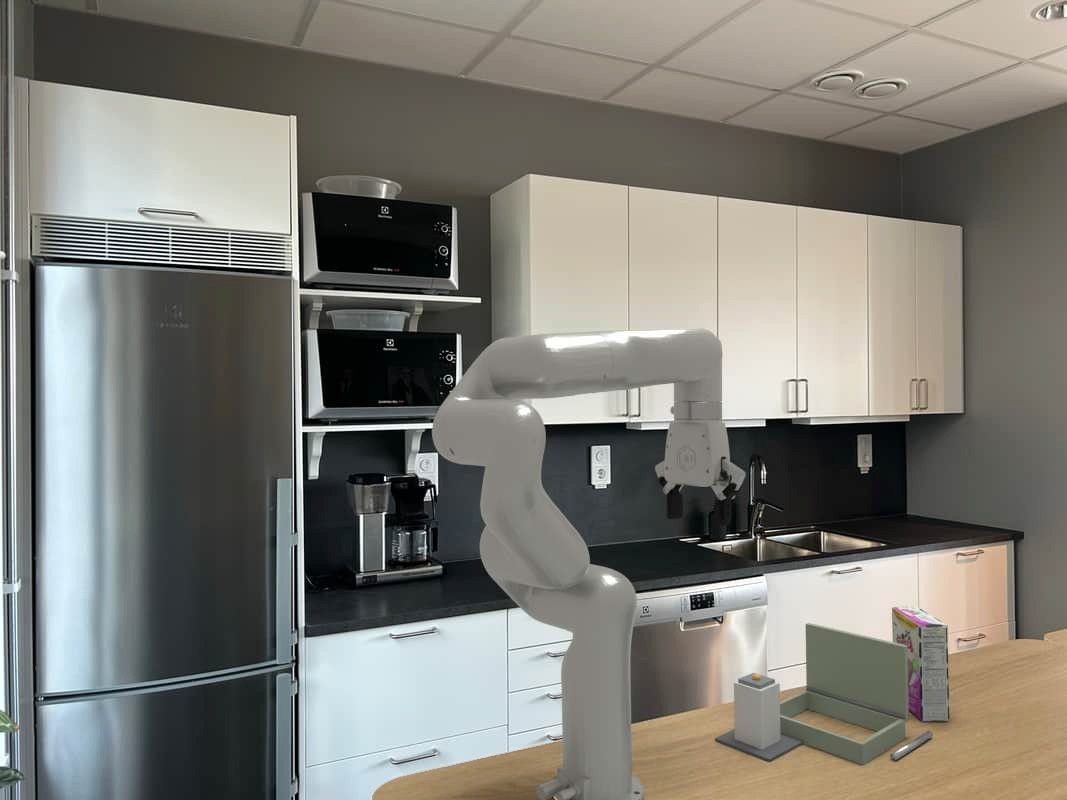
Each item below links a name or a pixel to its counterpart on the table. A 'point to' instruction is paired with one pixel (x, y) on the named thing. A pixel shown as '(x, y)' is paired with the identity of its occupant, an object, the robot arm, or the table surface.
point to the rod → (911, 745)
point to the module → (757, 710)
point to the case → (851, 692)
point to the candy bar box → (924, 662)
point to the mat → (765, 754)
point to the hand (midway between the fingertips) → (698, 521)
